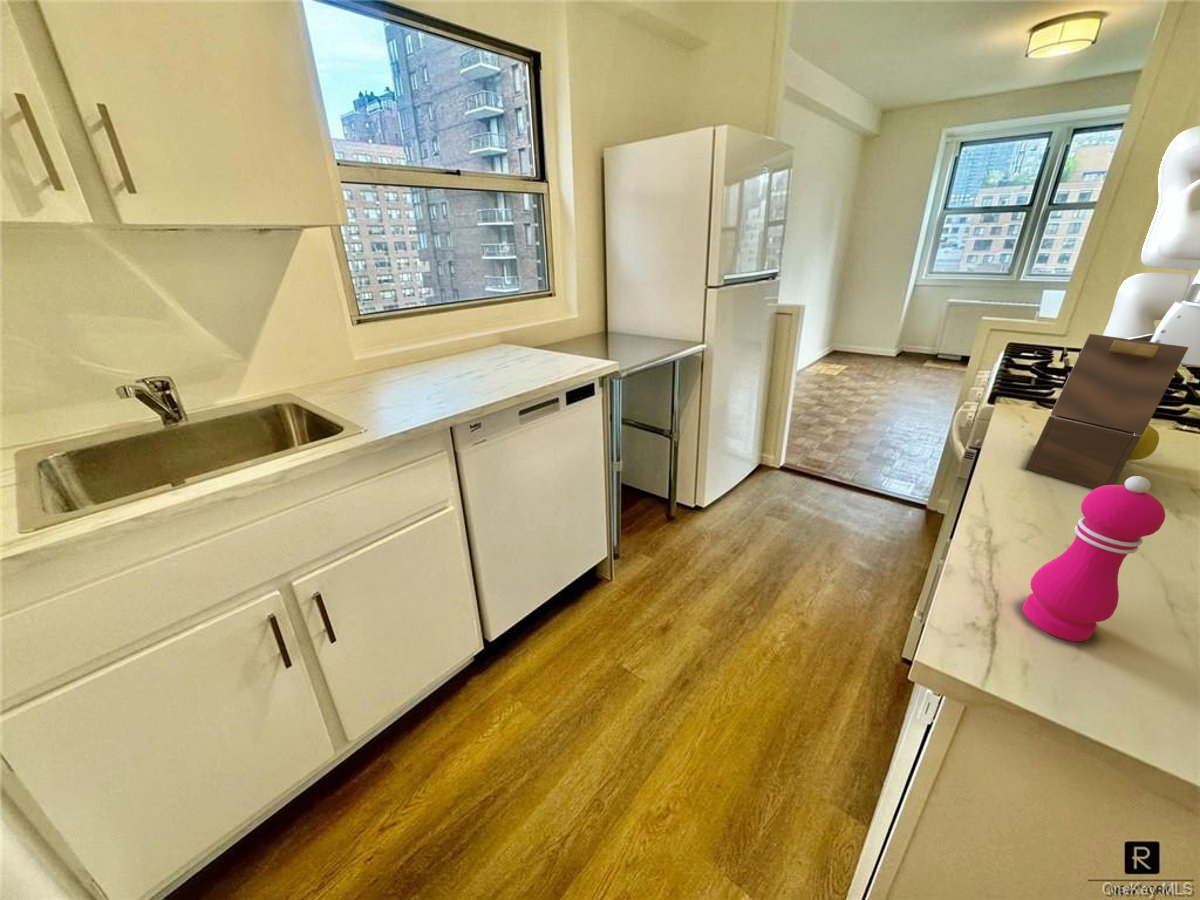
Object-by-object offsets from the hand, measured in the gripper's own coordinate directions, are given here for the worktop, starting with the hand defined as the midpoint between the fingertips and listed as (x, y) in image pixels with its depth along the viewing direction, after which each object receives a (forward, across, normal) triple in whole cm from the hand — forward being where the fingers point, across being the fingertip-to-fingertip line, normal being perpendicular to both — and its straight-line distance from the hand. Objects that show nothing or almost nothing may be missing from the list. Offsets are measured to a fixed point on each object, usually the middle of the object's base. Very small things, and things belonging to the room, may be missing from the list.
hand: (1164, 394), depth 88 cm
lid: (-4, +7, +15) cm, 17 cm away
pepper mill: (+15, +3, +62) cm, 64 cm away
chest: (+14, +7, +12) cm, 19 cm away
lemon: (+14, 0, -1) cm, 14 cm away
